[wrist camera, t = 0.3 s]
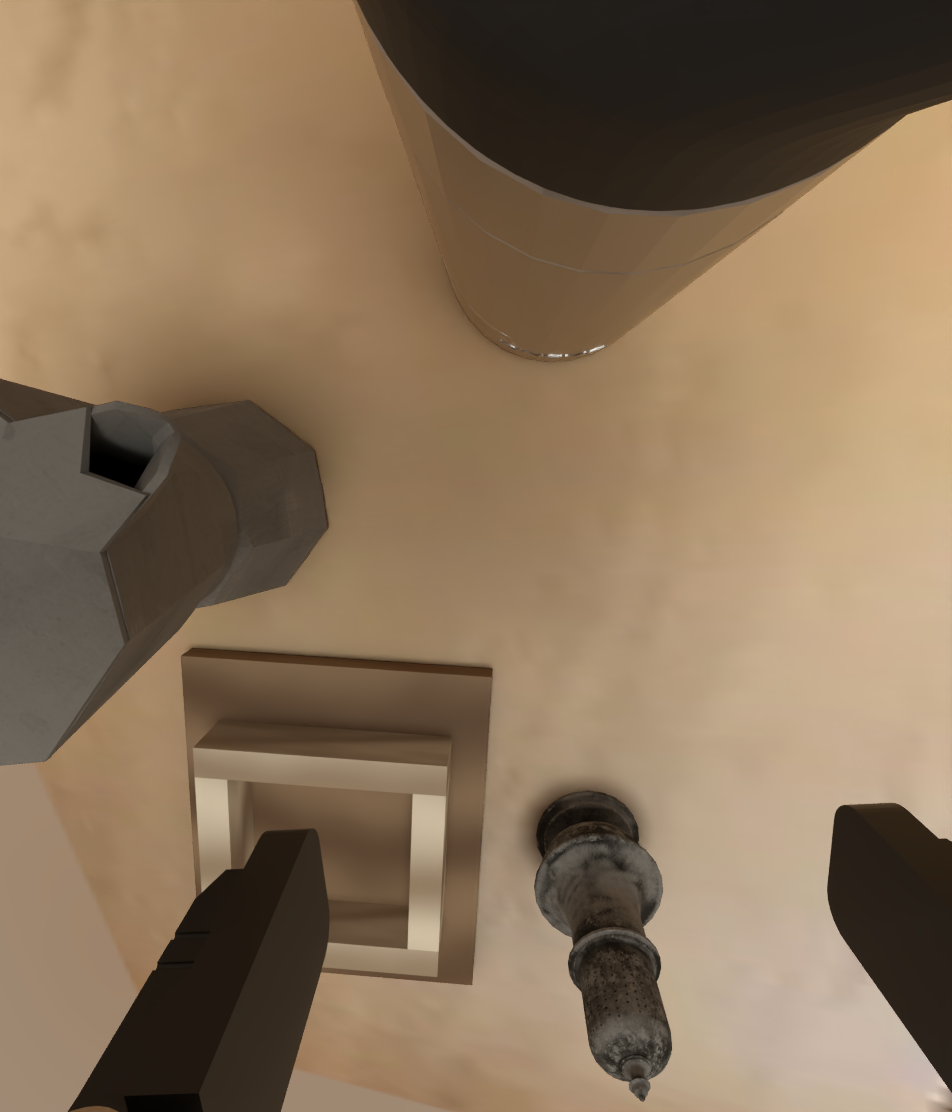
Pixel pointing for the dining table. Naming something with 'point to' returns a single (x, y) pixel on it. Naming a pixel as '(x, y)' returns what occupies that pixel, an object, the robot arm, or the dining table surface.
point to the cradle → (349, 794)
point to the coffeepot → (130, 542)
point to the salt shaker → (607, 929)
